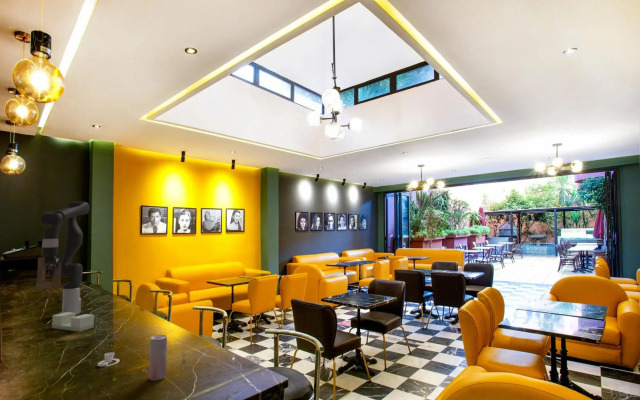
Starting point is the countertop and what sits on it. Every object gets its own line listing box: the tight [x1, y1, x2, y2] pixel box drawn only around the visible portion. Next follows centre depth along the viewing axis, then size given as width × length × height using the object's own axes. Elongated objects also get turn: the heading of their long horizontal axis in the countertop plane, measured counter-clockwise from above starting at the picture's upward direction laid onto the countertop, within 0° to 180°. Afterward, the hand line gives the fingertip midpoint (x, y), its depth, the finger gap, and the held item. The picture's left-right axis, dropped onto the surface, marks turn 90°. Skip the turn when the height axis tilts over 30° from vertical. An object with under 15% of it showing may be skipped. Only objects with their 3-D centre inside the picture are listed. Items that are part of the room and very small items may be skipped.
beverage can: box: [148, 334, 168, 382], centre depth 127 cm, size 6×6×15 cm
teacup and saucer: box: [97, 351, 120, 367], centre depth 141 cm, size 9×8×4 cm
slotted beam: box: [51, 312, 95, 332], centre depth 191 cm, size 8×22×7 cm, turn 71°
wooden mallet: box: [35, 257, 62, 291], centre depth 196 cm, size 4×11×18 cm, turn 140°
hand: (48, 275), depth 196 cm, fingers closed on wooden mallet, 4 cm apart
